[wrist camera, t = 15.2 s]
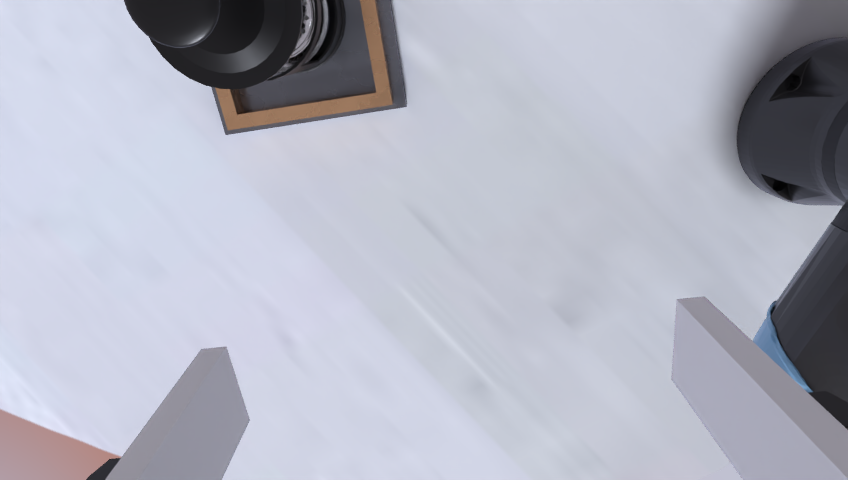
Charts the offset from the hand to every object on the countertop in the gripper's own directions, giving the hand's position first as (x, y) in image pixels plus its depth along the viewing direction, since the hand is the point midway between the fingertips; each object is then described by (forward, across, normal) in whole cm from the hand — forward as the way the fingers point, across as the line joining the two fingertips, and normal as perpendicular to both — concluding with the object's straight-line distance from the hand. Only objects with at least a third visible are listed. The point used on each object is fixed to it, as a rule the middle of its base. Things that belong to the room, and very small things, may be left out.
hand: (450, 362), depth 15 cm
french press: (+35, +11, -13) cm, 39 cm away
